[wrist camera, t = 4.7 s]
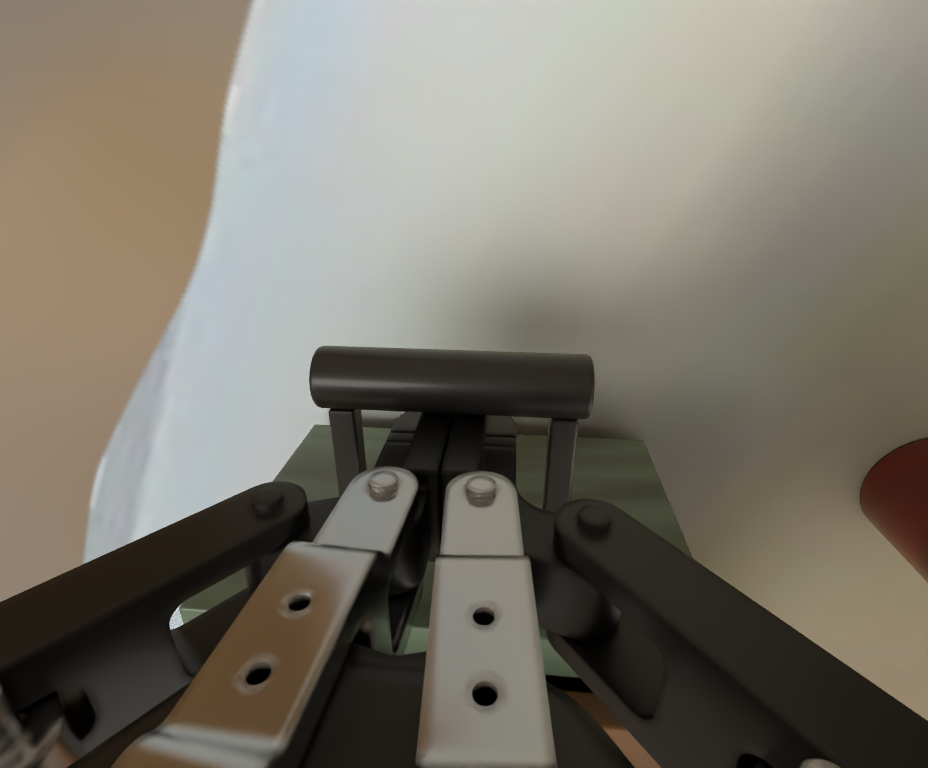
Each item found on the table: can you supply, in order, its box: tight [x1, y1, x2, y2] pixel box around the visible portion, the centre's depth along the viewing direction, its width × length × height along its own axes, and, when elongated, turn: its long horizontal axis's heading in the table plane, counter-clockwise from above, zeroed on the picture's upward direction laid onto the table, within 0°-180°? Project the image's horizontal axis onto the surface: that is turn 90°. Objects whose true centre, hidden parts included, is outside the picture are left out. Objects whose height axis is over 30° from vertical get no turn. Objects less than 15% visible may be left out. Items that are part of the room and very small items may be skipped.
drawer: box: [179, 346, 693, 693], centre depth 17 cm, size 20×12×9 cm, turn 0°
